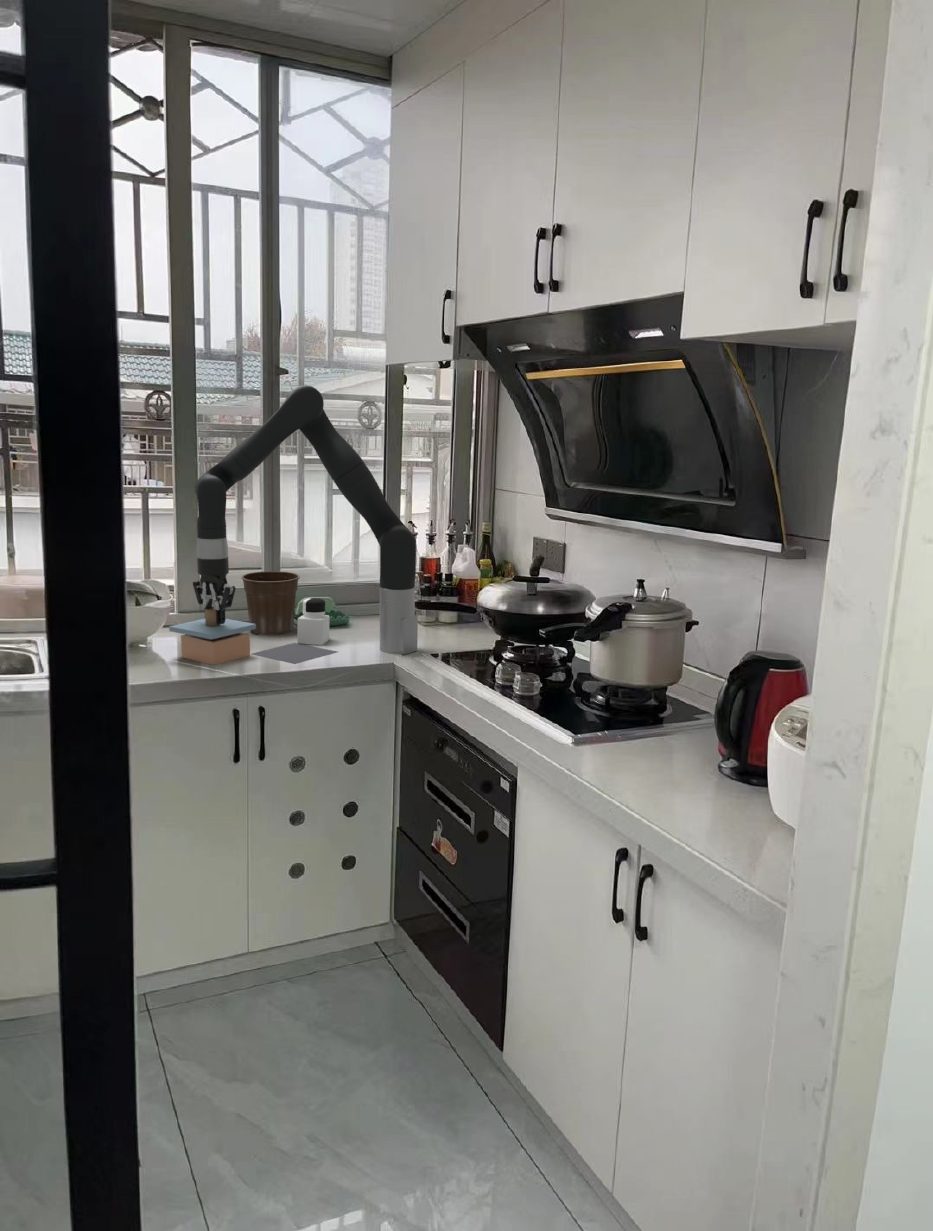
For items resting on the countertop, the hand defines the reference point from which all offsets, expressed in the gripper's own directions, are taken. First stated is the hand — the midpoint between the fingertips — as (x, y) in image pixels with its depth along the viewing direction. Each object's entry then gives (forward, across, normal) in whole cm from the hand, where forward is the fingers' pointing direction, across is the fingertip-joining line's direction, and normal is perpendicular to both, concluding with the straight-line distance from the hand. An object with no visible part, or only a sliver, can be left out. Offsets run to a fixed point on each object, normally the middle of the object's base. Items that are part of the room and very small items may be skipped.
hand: (215, 622), depth 245 cm
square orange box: (+9, 0, 0) cm, 9 cm away
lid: (+2, 0, +1) cm, 2 cm away
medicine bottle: (+9, -8, -27) cm, 30 cm away
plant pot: (+9, +11, -30) cm, 33 cm away
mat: (+9, -13, -15) cm, 22 cm away
